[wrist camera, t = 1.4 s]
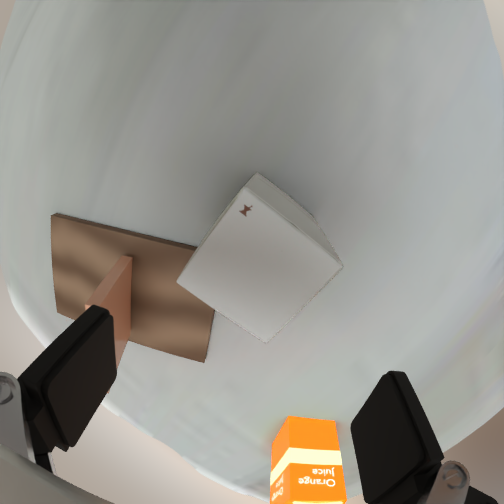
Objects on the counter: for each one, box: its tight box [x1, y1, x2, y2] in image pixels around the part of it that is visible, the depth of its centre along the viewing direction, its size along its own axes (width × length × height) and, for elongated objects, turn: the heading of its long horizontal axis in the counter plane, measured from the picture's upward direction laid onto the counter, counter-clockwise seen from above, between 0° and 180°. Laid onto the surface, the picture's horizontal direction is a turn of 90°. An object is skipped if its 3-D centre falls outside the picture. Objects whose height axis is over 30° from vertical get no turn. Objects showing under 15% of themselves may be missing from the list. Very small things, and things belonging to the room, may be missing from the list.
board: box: [51, 213, 215, 363], centre depth 31 cm, size 14×22×1 cm, turn 77°
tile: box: [85, 255, 133, 393], centre depth 25 cm, size 10×10×1 cm
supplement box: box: [177, 172, 343, 343], centre depth 22 cm, size 7×7×13 cm
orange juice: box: [270, 416, 347, 504], centre depth 29 cm, size 8×9×20 cm
